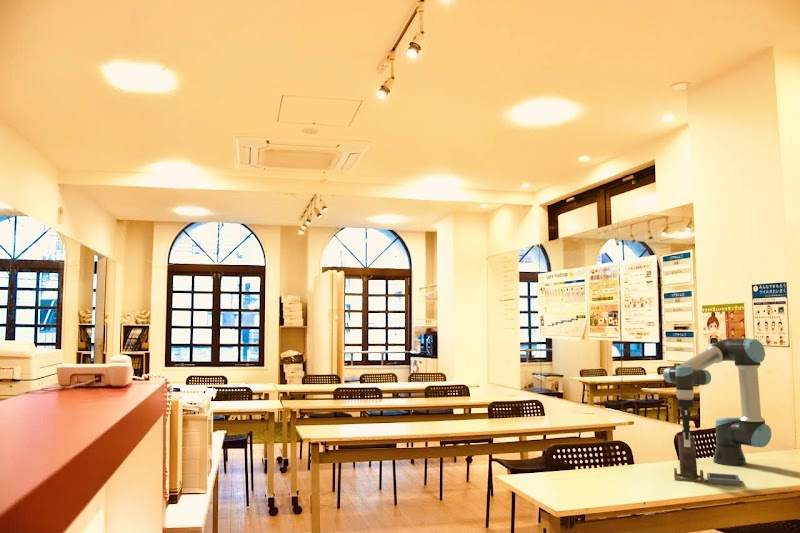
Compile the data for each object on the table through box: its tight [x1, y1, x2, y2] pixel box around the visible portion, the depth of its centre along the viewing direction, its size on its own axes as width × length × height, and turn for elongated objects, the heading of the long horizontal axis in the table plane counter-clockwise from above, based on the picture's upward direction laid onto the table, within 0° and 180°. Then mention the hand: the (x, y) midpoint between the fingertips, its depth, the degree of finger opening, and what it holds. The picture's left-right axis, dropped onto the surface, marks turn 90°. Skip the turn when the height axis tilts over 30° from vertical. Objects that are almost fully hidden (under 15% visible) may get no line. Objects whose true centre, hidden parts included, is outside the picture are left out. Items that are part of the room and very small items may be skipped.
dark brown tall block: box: [677, 435, 699, 479], centre depth 302 cm, size 8×7×20 cm
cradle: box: [673, 467, 705, 483], centre depth 301 cm, size 10×12×4 cm
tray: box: [706, 472, 742, 487], centre depth 294 cm, size 13×13×2 cm
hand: (686, 444), depth 302 cm, fingers open, 13 cm apart
